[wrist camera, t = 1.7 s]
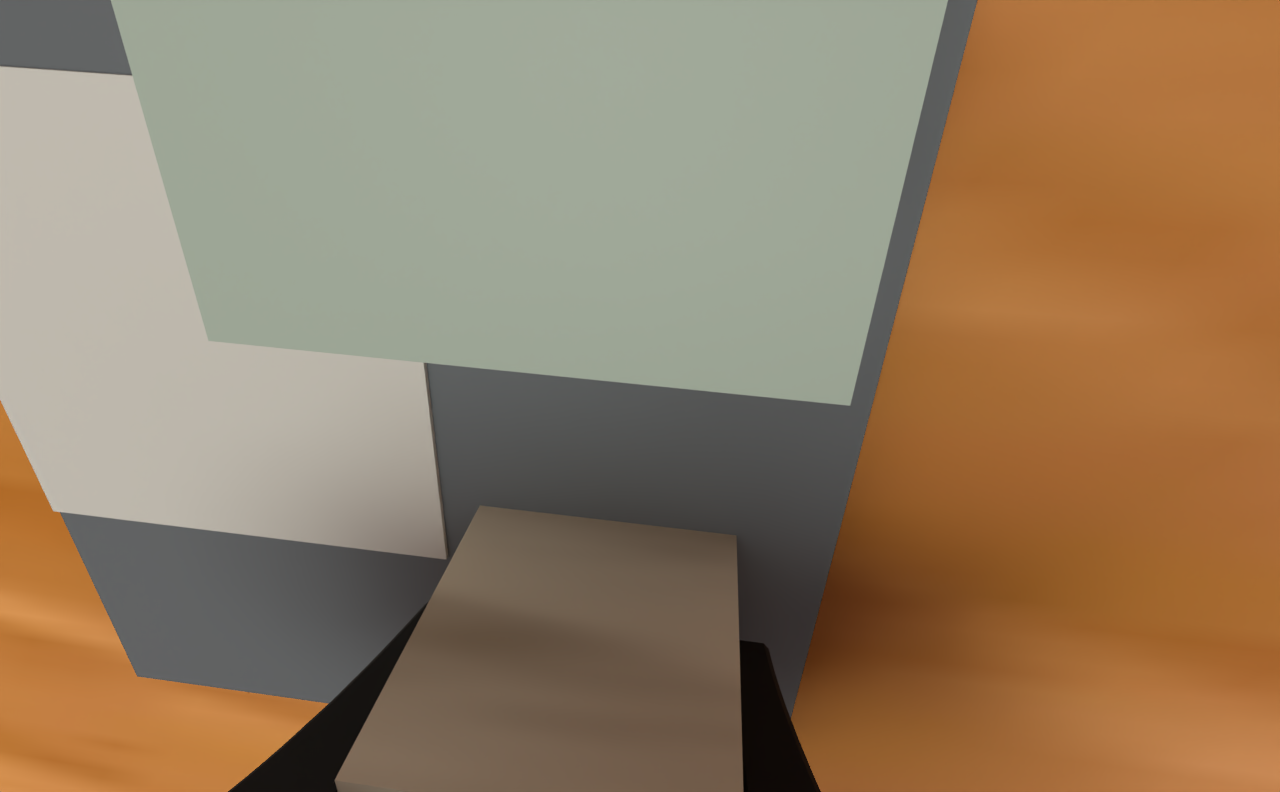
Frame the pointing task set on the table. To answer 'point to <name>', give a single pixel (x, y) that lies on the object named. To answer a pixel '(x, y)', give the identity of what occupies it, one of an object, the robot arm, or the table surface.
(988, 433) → the table surface
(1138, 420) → the table surface
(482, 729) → the walnut block
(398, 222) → the sage block
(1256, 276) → the table surface
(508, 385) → the board
